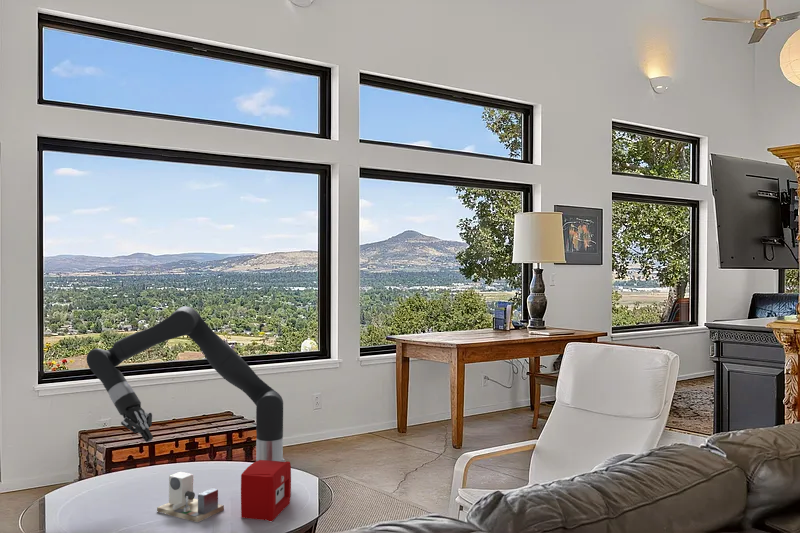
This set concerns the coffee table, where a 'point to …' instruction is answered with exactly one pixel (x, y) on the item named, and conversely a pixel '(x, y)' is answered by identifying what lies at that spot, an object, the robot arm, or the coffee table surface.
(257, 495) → the fire alarm
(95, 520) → the coffee table surface
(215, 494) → the grey metal square plate
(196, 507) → the gauge stand
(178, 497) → the block
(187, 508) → the grey metal lever
